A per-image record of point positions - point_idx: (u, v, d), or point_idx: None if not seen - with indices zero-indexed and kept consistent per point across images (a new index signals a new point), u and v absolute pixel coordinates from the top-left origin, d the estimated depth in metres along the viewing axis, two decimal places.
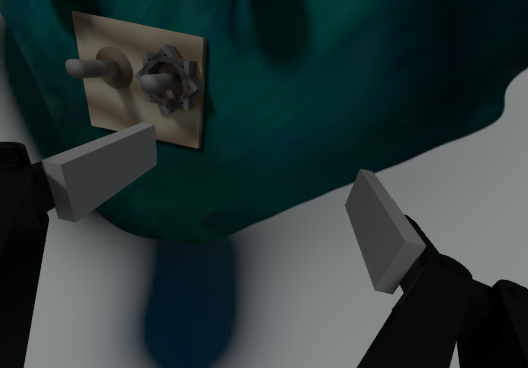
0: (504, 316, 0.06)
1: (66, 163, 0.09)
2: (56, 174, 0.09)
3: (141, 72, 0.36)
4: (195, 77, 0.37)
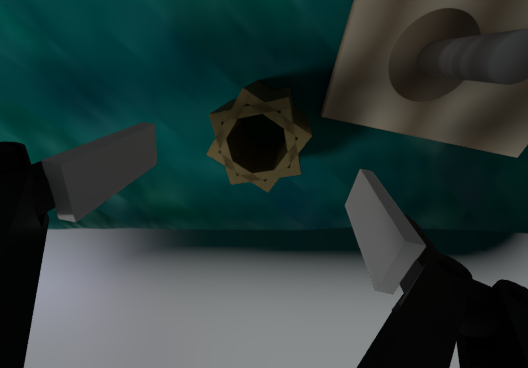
0: (504, 316, 0.06)
1: (66, 163, 0.09)
2: (56, 174, 0.09)
3: None
4: None
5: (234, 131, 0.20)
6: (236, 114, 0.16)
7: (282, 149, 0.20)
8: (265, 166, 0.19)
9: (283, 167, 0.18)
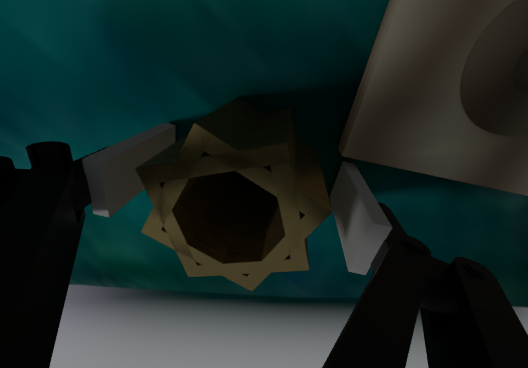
0: (460, 291, 0.07)
1: (104, 161, 0.09)
2: (95, 172, 0.09)
3: None
4: None
5: (197, 183, 0.12)
6: (186, 170, 0.09)
7: (277, 213, 0.12)
8: (247, 246, 0.11)
9: (277, 258, 0.10)
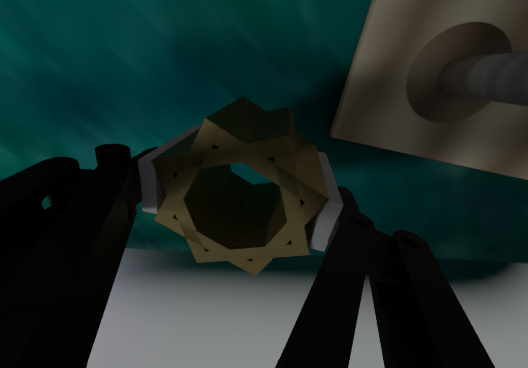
0: (400, 261, 0.08)
1: None
2: (149, 171, 0.10)
3: None
4: None
5: (205, 176, 0.13)
6: (197, 161, 0.09)
7: (279, 204, 0.13)
8: (252, 234, 0.12)
9: (280, 243, 0.11)
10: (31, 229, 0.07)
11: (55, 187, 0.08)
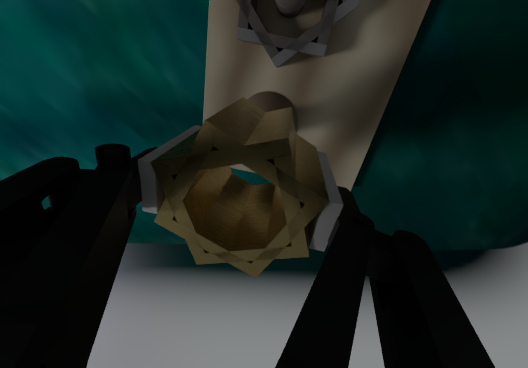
0: (400, 261, 0.08)
1: None
2: (149, 172, 0.10)
3: (271, 50, 0.19)
4: None
5: (204, 178, 0.13)
6: (196, 163, 0.09)
7: (279, 205, 0.13)
8: (251, 236, 0.12)
9: (279, 245, 0.11)
10: (31, 229, 0.07)
11: (55, 187, 0.08)
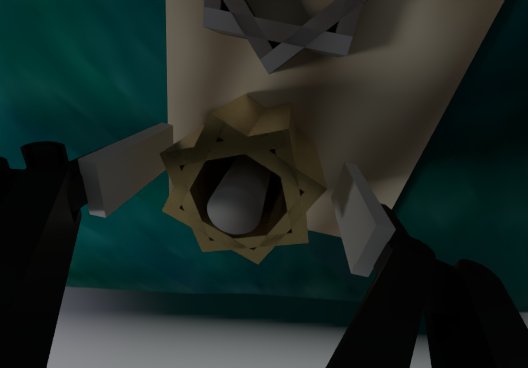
0: (464, 293, 0.07)
1: (100, 161, 0.09)
2: (91, 172, 0.09)
3: (260, 45, 0.11)
4: None
5: (209, 170, 0.13)
6: (203, 154, 0.10)
7: (280, 196, 0.14)
8: None
9: (281, 232, 0.11)
10: None
11: None
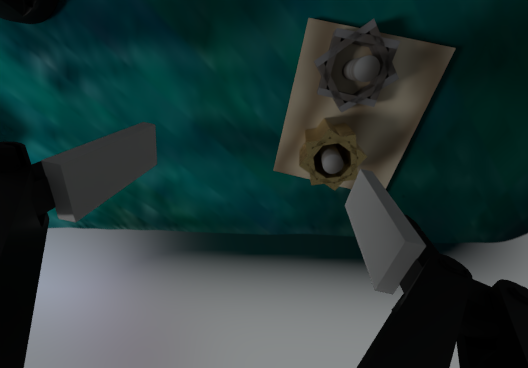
0: (504, 316, 0.06)
1: (66, 163, 0.09)
2: (56, 174, 0.09)
3: (339, 102, 0.29)
4: None
5: None
6: (322, 143, 0.28)
7: None
8: (333, 174, 0.30)
9: (347, 175, 0.29)
10: None
11: None
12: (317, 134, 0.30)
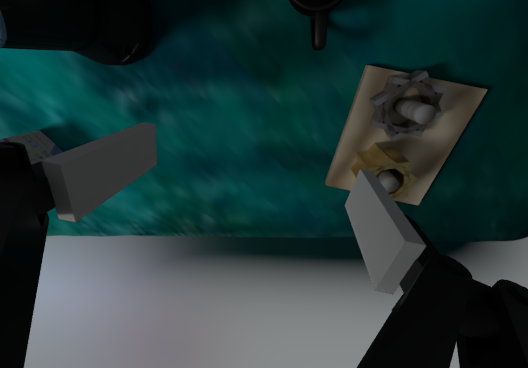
0: (504, 316, 0.06)
1: (66, 163, 0.09)
2: (56, 174, 0.09)
3: (392, 133, 0.36)
4: (405, 78, 0.34)
5: None
6: (381, 168, 0.34)
7: None
8: None
9: (399, 192, 0.36)
10: None
11: None
12: (373, 159, 0.37)
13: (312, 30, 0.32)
